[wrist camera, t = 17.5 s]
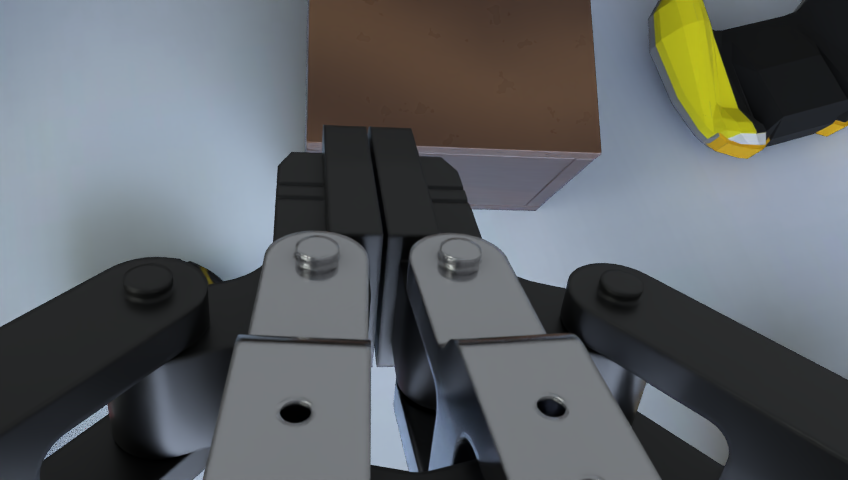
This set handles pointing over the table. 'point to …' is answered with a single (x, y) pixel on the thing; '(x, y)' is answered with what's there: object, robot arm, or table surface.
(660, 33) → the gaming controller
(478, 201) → the chest
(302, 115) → the table surface
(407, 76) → the lid
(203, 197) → the table surface
